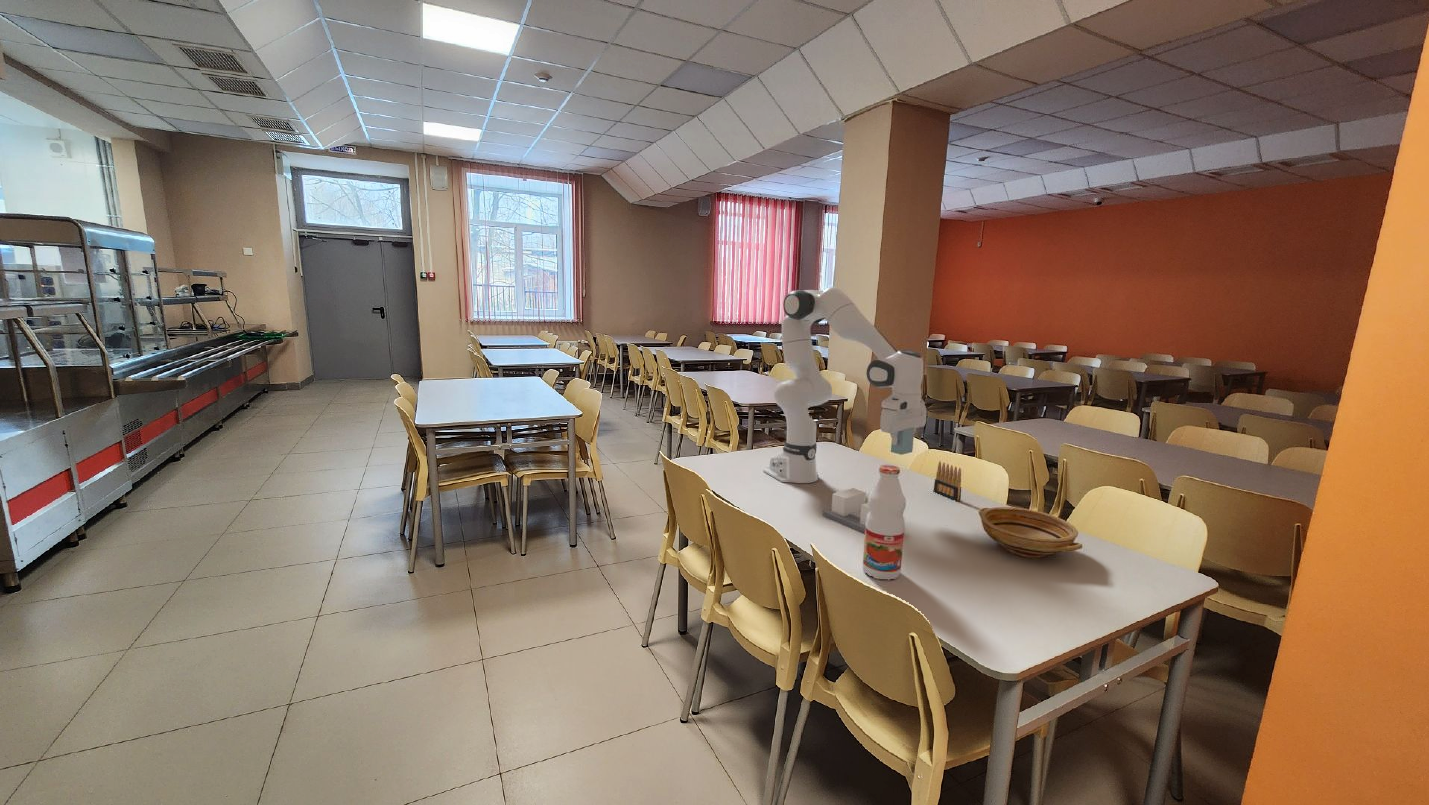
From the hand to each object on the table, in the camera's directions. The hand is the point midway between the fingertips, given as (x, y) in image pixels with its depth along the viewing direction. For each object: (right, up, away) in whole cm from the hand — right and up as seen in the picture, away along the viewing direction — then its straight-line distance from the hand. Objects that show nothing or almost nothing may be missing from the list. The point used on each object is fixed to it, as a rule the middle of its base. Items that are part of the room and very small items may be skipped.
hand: (902, 442), depth 183 cm
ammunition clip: (+22, -21, +18) cm, 35 cm away
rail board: (-15, -24, -6) cm, 29 cm away
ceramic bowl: (+27, -29, -24) cm, 46 cm away
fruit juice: (-19, -31, -39) cm, 53 cm away
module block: (0, -3, +1) cm, 3 cm away
